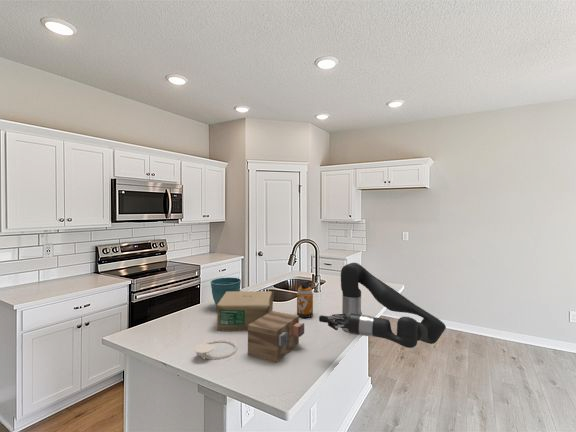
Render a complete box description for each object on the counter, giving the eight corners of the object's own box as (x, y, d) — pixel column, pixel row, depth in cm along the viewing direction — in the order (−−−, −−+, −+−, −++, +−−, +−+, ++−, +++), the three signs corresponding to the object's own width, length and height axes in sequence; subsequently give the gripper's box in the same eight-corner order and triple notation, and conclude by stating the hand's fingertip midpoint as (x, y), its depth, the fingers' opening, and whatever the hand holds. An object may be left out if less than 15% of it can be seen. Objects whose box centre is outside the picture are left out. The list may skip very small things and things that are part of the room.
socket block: (272, 336, 150) (272, 310, 150) (298, 342, 144) (298, 315, 143) (247, 354, 132) (247, 325, 132) (276, 362, 126) (276, 331, 125)
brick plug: (274, 326, 147) (274, 317, 147) (304, 333, 140) (304, 323, 140) (269, 330, 143) (269, 320, 143) (300, 336, 136) (300, 326, 136)
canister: (294, 316, 177) (294, 281, 176) (302, 311, 187) (302, 277, 186) (308, 319, 173) (309, 283, 172) (316, 313, 183) (316, 279, 182)
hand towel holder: (245, 337, 140) (213, 357, 122) (245, 347, 140) (213, 368, 122) (215, 330, 148) (181, 347, 130) (215, 339, 148) (181, 357, 130)
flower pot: (205, 312, 185) (204, 283, 184) (218, 302, 202) (218, 276, 202) (233, 314, 180) (233, 285, 180) (245, 305, 198) (245, 278, 197)
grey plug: (256, 335, 138) (256, 325, 137) (287, 342, 130) (287, 332, 130) (250, 339, 134) (250, 329, 134) (282, 347, 127) (282, 336, 126)
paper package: (215, 331, 157) (215, 303, 156) (226, 313, 182) (226, 289, 182) (270, 332, 156) (270, 304, 156) (273, 314, 182) (273, 290, 182)
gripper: (358, 341, 117) (314, 333, 124) (365, 328, 129) (324, 321, 136) (358, 321, 117) (313, 314, 124) (365, 310, 129) (324, 304, 136)
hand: (319, 318), depth 130 cm, fingers closed
